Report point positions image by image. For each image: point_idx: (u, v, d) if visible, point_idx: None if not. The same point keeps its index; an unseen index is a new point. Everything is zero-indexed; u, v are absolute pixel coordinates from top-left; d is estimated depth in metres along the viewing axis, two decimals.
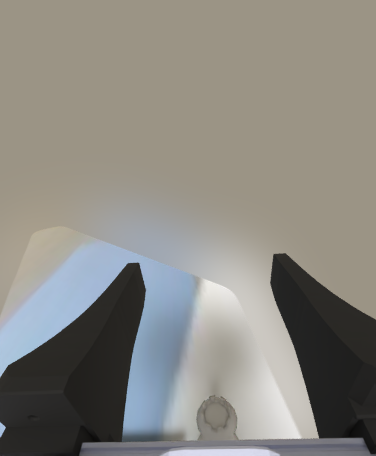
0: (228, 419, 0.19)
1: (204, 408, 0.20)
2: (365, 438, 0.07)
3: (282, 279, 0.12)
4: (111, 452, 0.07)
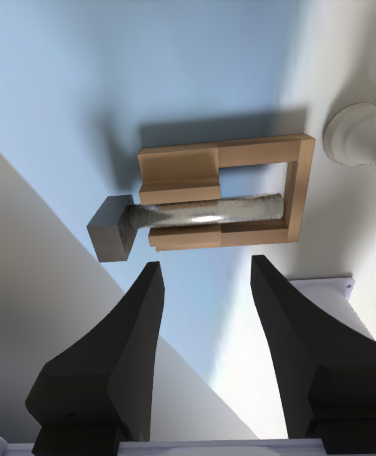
0: None
1: None
2: (323, 440, 0.07)
3: (258, 280, 0.12)
4: None
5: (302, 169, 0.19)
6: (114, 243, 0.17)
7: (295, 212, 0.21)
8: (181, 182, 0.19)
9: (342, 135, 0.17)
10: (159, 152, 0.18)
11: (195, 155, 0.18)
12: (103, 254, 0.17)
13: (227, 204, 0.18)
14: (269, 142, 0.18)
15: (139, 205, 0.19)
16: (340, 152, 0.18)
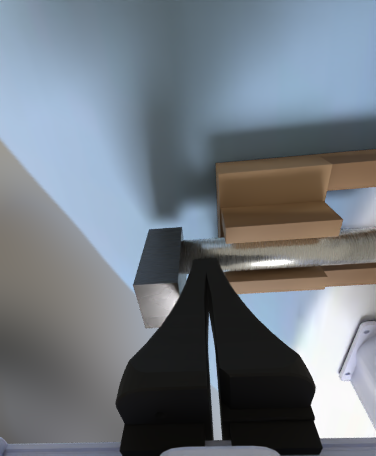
0: None
1: None
2: (231, 441, 0.07)
3: (206, 283, 0.12)
4: (111, 452, 0.07)
5: None
6: (170, 306, 0.12)
7: None
8: (278, 211, 0.13)
9: None
10: (248, 170, 0.13)
11: (299, 174, 0.13)
12: (152, 319, 0.12)
13: (318, 244, 0.13)
14: None
15: (194, 243, 0.14)
16: None
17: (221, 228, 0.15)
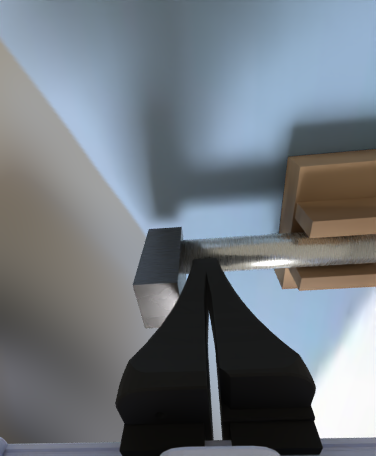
0: None
1: None
2: (231, 441, 0.07)
3: (207, 283, 0.12)
4: (111, 452, 0.07)
5: None
6: (170, 306, 0.12)
7: None
8: (360, 205, 0.13)
9: None
10: (330, 163, 0.13)
11: None
12: (152, 319, 0.12)
13: (318, 244, 0.13)
14: None
15: (194, 243, 0.14)
16: None
17: (293, 223, 0.15)
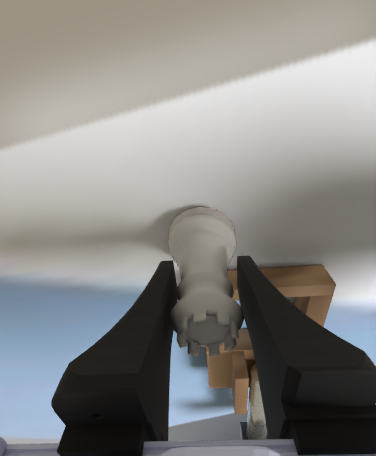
0: (220, 324, 0.09)
1: (199, 348, 0.11)
2: (294, 439, 0.07)
3: (242, 281, 0.12)
4: None
5: None
6: None
7: (287, 293, 0.17)
8: None
9: None
10: None
11: (212, 362, 0.21)
12: None
13: (253, 406, 0.21)
14: None
15: (247, 431, 0.25)
16: None
17: None
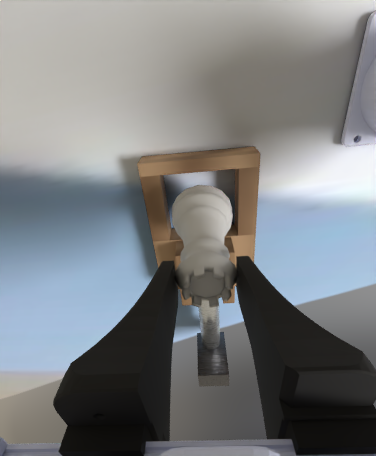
0: (216, 277, 0.11)
1: (201, 300, 0.13)
2: (293, 440, 0.07)
3: (242, 281, 0.12)
4: None
5: (167, 169, 0.18)
6: (213, 378, 0.24)
7: (217, 165, 0.18)
8: None
9: None
10: None
11: (160, 256, 0.23)
12: (222, 383, 0.25)
13: None
14: None
15: (201, 337, 0.27)
16: None
17: None
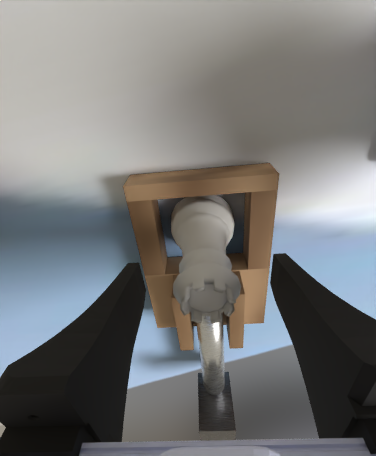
0: (217, 290, 0.10)
1: (201, 316, 0.12)
2: (365, 438, 0.07)
3: (282, 279, 0.12)
4: (111, 452, 0.07)
5: (161, 192, 0.15)
6: (217, 433, 0.20)
7: (224, 188, 0.14)
8: None
9: None
10: None
11: (154, 291, 0.19)
12: (227, 438, 0.21)
13: (201, 341, 0.19)
14: None
15: (203, 380, 0.23)
16: None
17: None
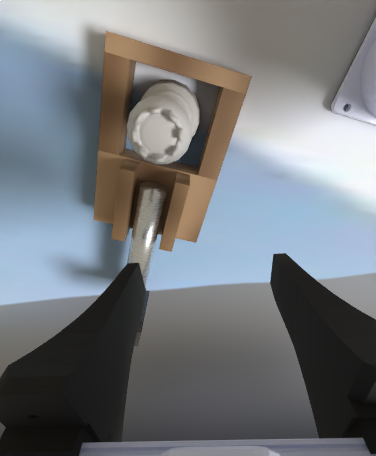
0: (171, 117, 0.11)
1: (147, 153, 0.12)
2: (365, 438, 0.07)
3: (282, 279, 0.12)
4: (111, 452, 0.07)
5: (141, 54, 0.15)
6: None
7: (201, 73, 0.15)
8: None
9: None
10: None
11: (102, 173, 0.19)
12: None
13: (134, 235, 0.19)
14: (102, 92, 0.16)
15: None
16: None
17: None
